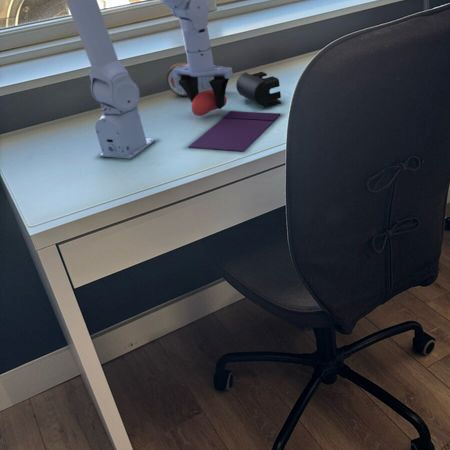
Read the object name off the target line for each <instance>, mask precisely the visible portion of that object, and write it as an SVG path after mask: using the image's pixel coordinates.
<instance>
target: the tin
mask: <svg viewBox="0 0 450 450" xmlns="http://www.w3.org/2000/svg"><path fill="white" fill-rule="evenodd" d="M214 65H216V66H219V65H217V63H215V62H214ZM184 66H188V61H187V62H177V63H174V64H172V65H171V66H170V67H169V69H168V71H167V73H166V75H165V76H166V77H165V80H166V81H165V82H166V84H167V87H168V89H169V90H170V91H171V92H172V93H174V95H177V96H180V97H188V95H187V93H186V92H185V90H184V89H183V88H182V87H181V86H180V85H179V82H178V81H179V80H181V79H180V78H181V76H180V77H174V73H173V69H174V68H176V67H184ZM213 79H214V77H198V92H199V93H200V92H203V91H205V90H213V89H212V87H211V85H210V81H211V80H213Z"/></svg>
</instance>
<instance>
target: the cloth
mask: <svg viewBox="0 0 450 450" xmlns="http://www.w3.org/2000/svg"><path fill="white" fill-rule="evenodd" d="M281 116H282V113H278V112H257V111H237V110H235V111H234V110H230V111H228V112H227V113H226V114H225V115H224V116H223V117H222V118H221V119H220V120H219V121H217V123H215V124H214V125H212V126H211V128H209V129H207V131H205V133H203V134H202V135H200V136H199V137H198V138H197V139H196V140H195V141H193V142H192V143H191V144H190V145H189V146H188V149H200V150H201V149H202V150H214V151H215V150H216V151H227V152H241V153H244V152H245V151H246V150H247V149H248V148H249V147H250V146H251V145H252V144H253V143H254V142H255V141H256V140H257V139H259V137H260V136H261V135H263V133H265V132H266V130H267V129H269V127H271V125H272V124H274V123H275V122H276V121H277V120H278V119H279V118H280V117H281Z"/></svg>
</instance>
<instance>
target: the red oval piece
mask: <svg viewBox="0 0 450 450" xmlns="http://www.w3.org/2000/svg"><path fill="white" fill-rule="evenodd" d="M227 99H228V98H227V97H226V96H225V98H224V107H225V106H226V104H227V103H228V102H227V101H228V100H227ZM216 110H219V109H218V108H217V105H216V100H215V95H214V92H213V90H205V91H203V92H200V93H199V94H198V95H196V96H195V98H194V99H193V101H192V102H191V112H192V113H193V115H194V116H197V117H203V116H205V115H207V114H208V113H210V112H212V111H216Z"/></svg>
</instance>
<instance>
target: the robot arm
mask: <svg viewBox="0 0 450 450" xmlns="http://www.w3.org/2000/svg"><path fill="white" fill-rule="evenodd" d="M160 1H161V2H162V3H163V4H164V5H166V6H167V7H168V8H170V11H171V13H172V15H173V16H174V17H175V18H178V20H179V26H180V30H181V35H182V40H183V45H184V50H185V55H186V61H187V62H188V66H184V67H176V68H174V69H173V73H174V77H180V76H181V78H180V79H181V80H179V81H178V82H179V85H180V86H181V87H182V88H183V89H184V90H185V92H186V93H187V95H188V96H187V97H188V99H189V101H190V102H191V103H192V101H193V99H194V98H195V96H196V95H198V94H199V92H198V77H214V79H213V80H211V81H210V85H211V87H212V89H213V92H214V95H215V100H216V105H217V108H218V109H217V110H221V109H222V108H223V107H225V106H224V98H225V97H226V90H227V86H228V83H229V80H230V79H231V78H233V77H234V73H233V67H227V66H222V65H218V66H216V65H217V64H216V65H214V63H215V62H214V57H213V51H212V45H211V40H210V35H209V30H208V25H209V21H208V16H209V14H210V3H208V2H207V0H160ZM65 2H66V4H67V7H68V10H69V13H70V15H71V18H72V20H73V23H74V25H75V29H76V31H77V33H78V36H79V38H80V41H81V43H82V46H83V48H84V51H85V53H86V57H87V59H88V61H89V63H90V69H89V71H88V76H89V79H90V93H91V95H92V97H93V98H94V100H95V101H97V102H98V103H100V109H101V116H100V118H99V119H98V120H97V121H96V122H95V127H94V128H95V133H96V135H97V139H98V142H99V146H100V149H101V153H100V154H99V155H100V157H105V158H106V157H107V158H117V159H127V160H128V159H129V160H130V159H132V158H134V157H135V156H136V155H138V154H139V153H141V152H142V151H143V150H145V149H146V148H147V147H149V146H150V145H151V144H153V143H154V142H155V141H156V138H151V137H146V135H145V131H144V127H143V123H142V119H141V116H140V111H139V107H138V103H139V101H140V97H141V94H140V93H141V92H140V88H139V87H138V85H137V84H136V83H135V82H134V81H133V80H132V78H131V76H130V73H129V71H128V70H127V68H125V66H124V65H123V64H122V63H121V62H120V61H119V59H118V56H117V53H116V49H115V47H114V44H113V41H112V38H111V36H110V34H109V30H108V27H107V25H106V22H105V20H104V16H103V14H102V11H101V9H100V6H99V5H100V4H99V3H98V1H97V0H65Z"/></svg>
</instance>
